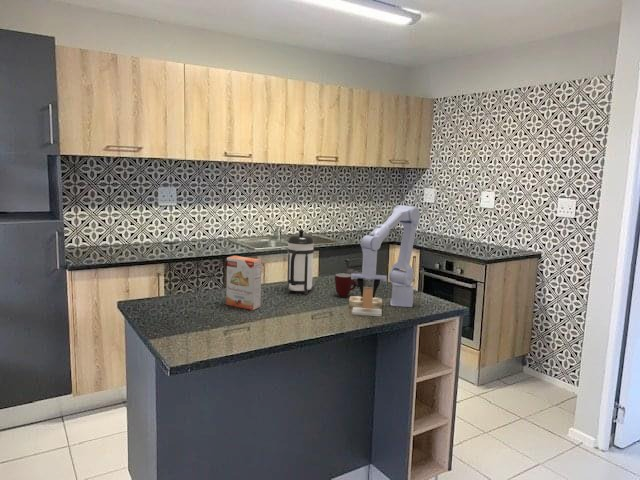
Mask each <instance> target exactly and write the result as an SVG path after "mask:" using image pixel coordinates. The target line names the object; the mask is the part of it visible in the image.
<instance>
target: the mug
mask: <svg viewBox="0 0 640 480" xmlns="http://www.w3.org/2000/svg"><path fill="white" fill-rule="evenodd" d="M334 277H335V278H334V283H335V290H336V293H337V295H338V297H340V298H347V297H348V296H349V294H350V292H351V291H353V290H354V289H356V288H357V285H356V282H355V281H354V280H352V279H351V274H346V272H345V273H344V272H343V273H342V272H341V273H336V274H335V275H334ZM352 282H353V283H354V284H353V283H352Z"/></svg>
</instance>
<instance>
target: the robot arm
mask: <svg viewBox="0 0 640 480" xmlns="http://www.w3.org/2000/svg"><path fill="white" fill-rule="evenodd" d="M420 216H421V213H420V210H419V207H417V206H408V205H401V204H397V205H396V206H395V207H394V208H393V209H392V213H391V215H389V217H388V218H387V219H386V221H385V222H384V223H383V224H382V223H380V224H377V226H376V227H375V228H374V229H373V230H372V231H371V232H370V233H369V234H365V235H364V236H363V237H362V238H361V241H360V247H361V252H362V266H361V267H362V269H361V271H362V272H361V274H351V279H357V282H358V285H359V286H358V285H357V286H358V287H359V291H360V297H363V288H364V286H363V281H364V280H365V281H373V298H375V296H376V293H377V289H378V287H379V285H380V284H381V281H382V282H387V280H388V279H389V281H390V284H391V285H392V288H391V299H390V300H389V301H390V306H392V307H406V308H413V303H414V285H412V284H413V281H414V278H415V276H414V272H415V270H414V267H412V266H411V264H410V262H411V258H412V253H413V248H414V244H415V243H414V242H415V237H416V232H417V227H418V226H419V221H420ZM399 223H400V224H401V225H402V227H403V231H402V237H401V242H400V247H399V251H398V257H397V262H395V263H393V265H391V269H390V271H389V274H388V276H387V275H383V274H382V275H381V274H377V264H378V263H377V261H378V250H380V249H381V246H382V245H381V244H382V243H383V241H384V240H386V238H387V237H388V236H389V235H390V230H391V229H392V228H394V227H395V226H396V225H398V224H399Z"/></svg>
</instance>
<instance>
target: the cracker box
mask: <svg viewBox="0 0 640 480" xmlns="http://www.w3.org/2000/svg"><path fill="white" fill-rule="evenodd" d="M261 303H262V259H259V258H253V257H246V256H240V255H231V256H228V257H226V305H227V306H231V307H236V308H239V309H240V308H241V309H245V310H250V311H255V310H257V309H259V308H261V307H262V305H261Z"/></svg>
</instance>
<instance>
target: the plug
mask: <svg viewBox="0 0 640 480" xmlns="http://www.w3.org/2000/svg"><path fill="white" fill-rule="evenodd" d="M373 289H374V286H373V287H371V286H370V287H368V286H363V304H362V308H368V309H372V301H373Z"/></svg>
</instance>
